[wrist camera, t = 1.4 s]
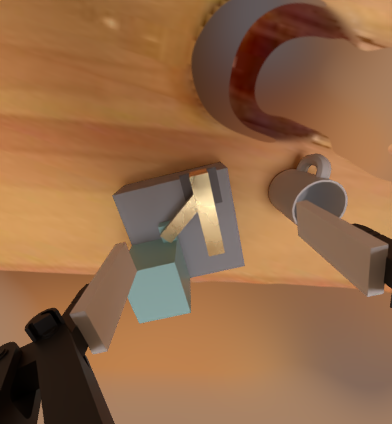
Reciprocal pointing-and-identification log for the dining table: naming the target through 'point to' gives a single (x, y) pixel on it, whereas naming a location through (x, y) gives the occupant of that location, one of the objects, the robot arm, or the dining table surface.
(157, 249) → the cover
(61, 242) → the dining table surface
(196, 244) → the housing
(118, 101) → the dining table surface
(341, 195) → the cup
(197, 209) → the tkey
